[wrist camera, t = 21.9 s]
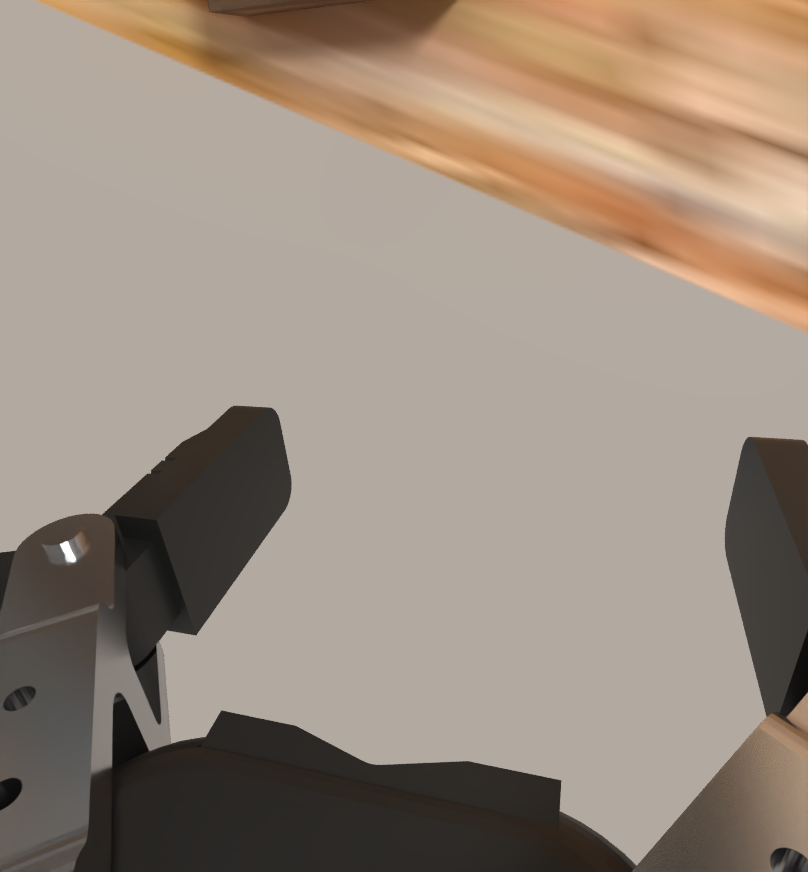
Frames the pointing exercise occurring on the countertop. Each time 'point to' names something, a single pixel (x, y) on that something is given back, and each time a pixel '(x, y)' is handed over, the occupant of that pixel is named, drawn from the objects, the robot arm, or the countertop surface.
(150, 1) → the countertop surface
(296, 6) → the walnut frame
